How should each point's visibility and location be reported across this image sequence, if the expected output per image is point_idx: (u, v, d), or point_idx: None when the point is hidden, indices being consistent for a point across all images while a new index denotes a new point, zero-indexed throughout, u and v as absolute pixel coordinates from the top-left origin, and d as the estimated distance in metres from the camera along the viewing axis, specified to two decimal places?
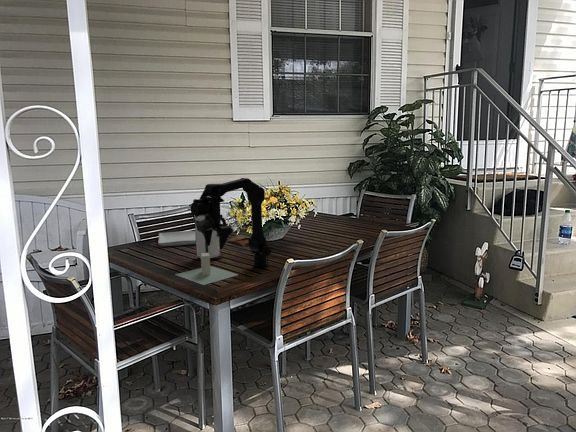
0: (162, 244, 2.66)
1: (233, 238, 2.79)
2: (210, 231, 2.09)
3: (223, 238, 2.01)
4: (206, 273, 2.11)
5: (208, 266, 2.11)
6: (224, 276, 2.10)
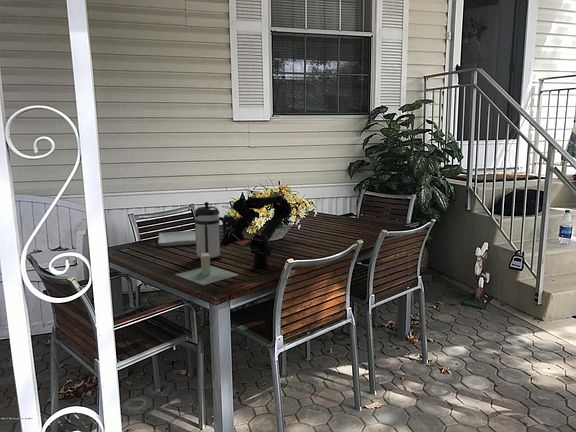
0: (162, 244, 2.66)
1: None
2: None
3: (231, 239, 2.12)
4: (206, 273, 2.11)
5: (208, 266, 2.11)
6: (224, 276, 2.10)
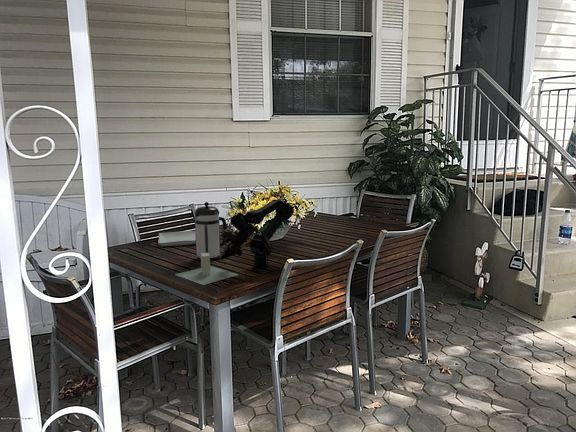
0: (162, 244, 2.66)
1: None
2: None
3: (229, 252, 2.15)
4: (206, 273, 2.11)
5: (208, 266, 2.11)
6: (224, 276, 2.10)
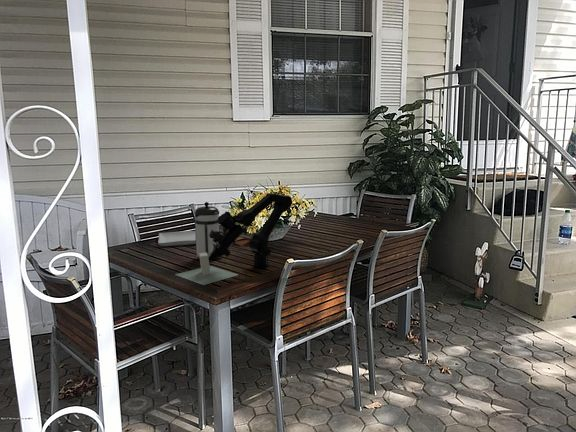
0: (162, 244, 2.66)
1: None
2: None
3: (217, 253, 2.13)
4: (206, 273, 2.11)
5: (207, 266, 2.11)
6: (224, 276, 2.10)
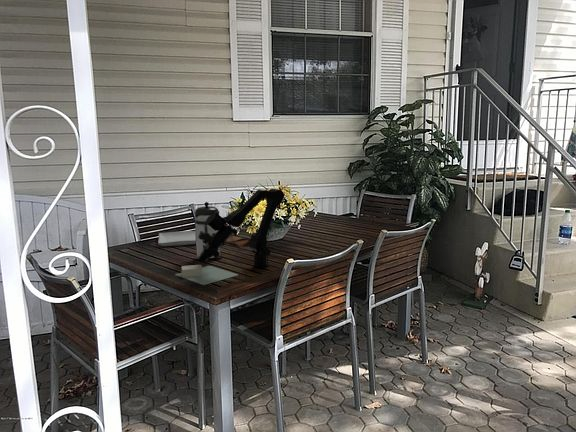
0: (162, 244, 2.66)
1: (230, 239, 2.77)
2: None
3: (206, 254, 2.12)
4: (200, 272, 2.11)
5: (193, 270, 2.10)
6: (224, 276, 2.10)
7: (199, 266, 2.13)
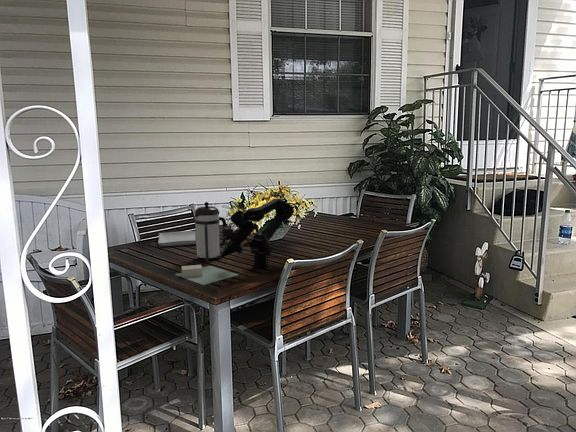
0: (162, 244, 2.66)
1: None
2: None
3: (229, 250, 2.14)
4: (200, 272, 2.11)
5: (193, 270, 2.10)
6: (224, 276, 2.10)
7: (199, 266, 2.13)
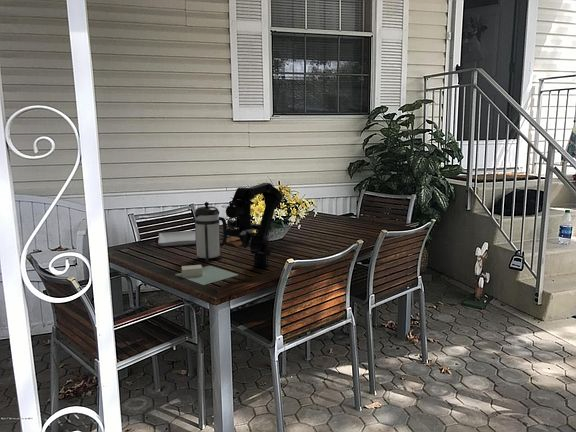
0: (162, 244, 2.66)
1: (228, 239, 2.76)
2: (248, 235, 2.13)
3: (243, 238, 2.12)
4: (200, 272, 2.11)
5: (193, 270, 2.10)
6: (224, 276, 2.10)
7: (199, 266, 2.13)
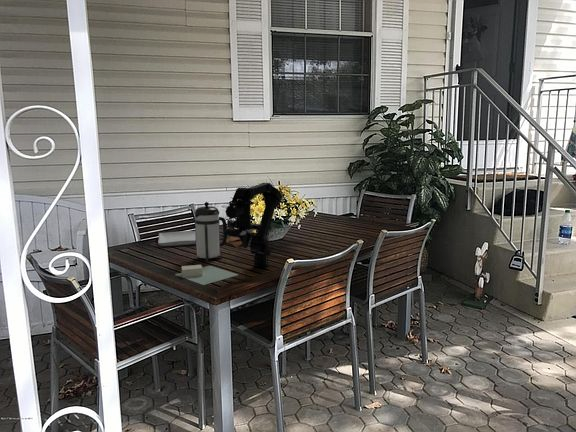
0: (162, 244, 2.66)
1: (227, 239, 2.76)
2: (248, 235, 2.13)
3: (243, 238, 2.12)
4: (200, 272, 2.11)
5: (193, 270, 2.10)
6: (224, 276, 2.10)
7: (199, 266, 2.13)
